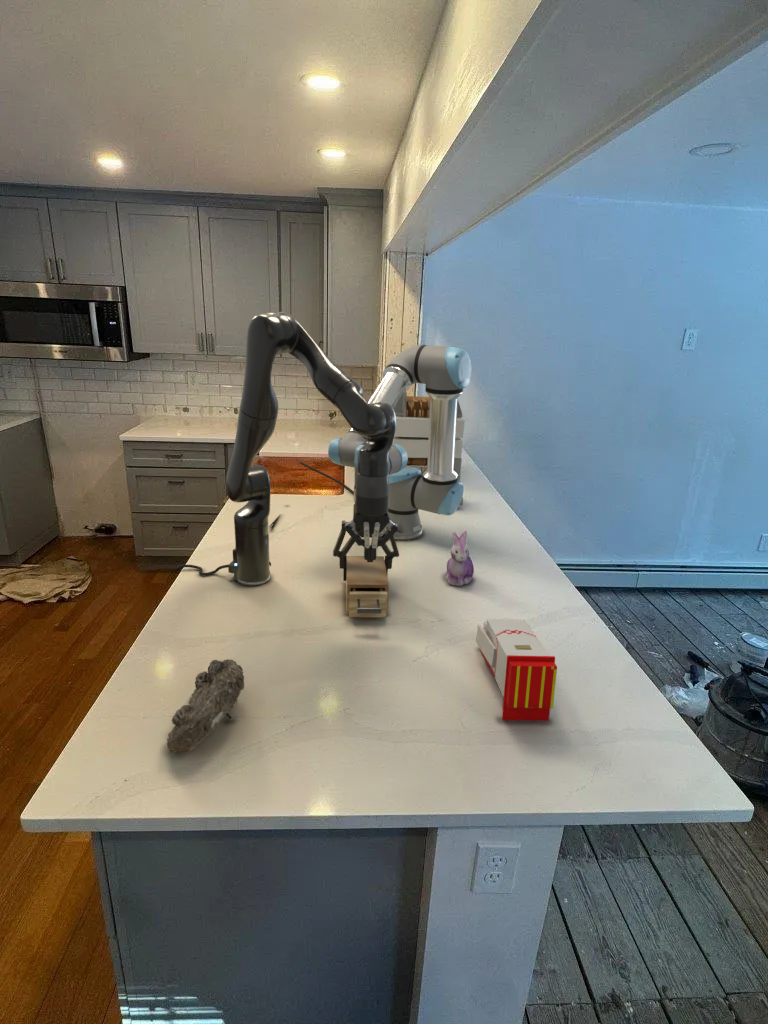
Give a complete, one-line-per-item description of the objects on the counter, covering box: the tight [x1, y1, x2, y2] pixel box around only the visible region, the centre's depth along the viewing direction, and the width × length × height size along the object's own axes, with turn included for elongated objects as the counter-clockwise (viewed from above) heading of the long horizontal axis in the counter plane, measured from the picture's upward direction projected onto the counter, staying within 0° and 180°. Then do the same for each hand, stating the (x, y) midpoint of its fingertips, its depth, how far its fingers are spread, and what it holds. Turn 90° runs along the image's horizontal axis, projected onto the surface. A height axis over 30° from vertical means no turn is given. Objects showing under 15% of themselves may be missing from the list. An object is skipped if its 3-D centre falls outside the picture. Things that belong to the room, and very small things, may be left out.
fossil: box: [166, 658, 245, 754], centre depth 106 cm, size 22×10×15 cm
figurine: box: [445, 530, 475, 587], centre depth 165 cm, size 9×10×15 cm
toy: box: [475, 618, 558, 722], centre depth 122 cm, size 12×13×30 cm
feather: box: [268, 504, 288, 532], centre depth 209 cm, size 2×28×2 cm
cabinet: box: [345, 555, 390, 616], centre depth 153 cm, size 17×11×9 cm, turn 4°
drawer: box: [348, 588, 387, 618], centre depth 147 cm, size 22×9×7 cm, turn 4°
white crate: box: [392, 391, 465, 482], centre depth 268 cm, size 34×33×41 cm
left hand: (370, 560), depth 135 cm, fingers closed
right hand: (365, 578), depth 157 cm, fingers closed on cabinet, 11 cm apart
